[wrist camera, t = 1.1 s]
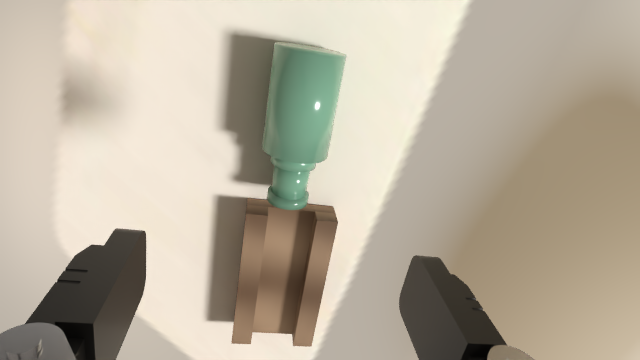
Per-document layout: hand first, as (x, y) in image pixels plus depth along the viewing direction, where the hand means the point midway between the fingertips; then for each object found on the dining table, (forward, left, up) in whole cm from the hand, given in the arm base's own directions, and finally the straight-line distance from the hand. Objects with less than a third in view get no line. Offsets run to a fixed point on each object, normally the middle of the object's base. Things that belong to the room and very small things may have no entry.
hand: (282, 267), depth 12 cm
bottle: (-1, +1, -13) cm, 13 cm away
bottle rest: (+11, +2, -15) cm, 19 cm away
